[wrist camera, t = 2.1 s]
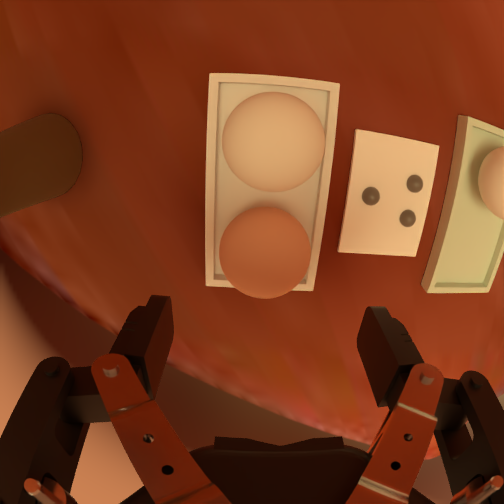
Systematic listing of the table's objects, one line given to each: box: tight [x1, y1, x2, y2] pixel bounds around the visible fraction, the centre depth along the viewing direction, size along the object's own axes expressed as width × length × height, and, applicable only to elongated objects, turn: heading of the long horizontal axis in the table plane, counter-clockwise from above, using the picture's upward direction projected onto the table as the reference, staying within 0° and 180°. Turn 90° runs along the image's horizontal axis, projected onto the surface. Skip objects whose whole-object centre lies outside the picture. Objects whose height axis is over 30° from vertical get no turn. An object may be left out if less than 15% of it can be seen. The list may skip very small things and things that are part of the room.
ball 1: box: [222, 92, 325, 192], centre depth 15 cm, size 5×5×5 cm
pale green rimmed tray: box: [421, 115, 504, 293], centre depth 19 cm, size 13×7×1 cm, turn 177°
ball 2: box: [219, 207, 311, 299], centre depth 17 cm, size 5×5×5 cm
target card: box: [337, 129, 439, 257], centre depth 19 cm, size 8×6×1 cm
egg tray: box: [205, 73, 340, 291], centre depth 18 cm, size 13×7×1 cm, turn 177°
